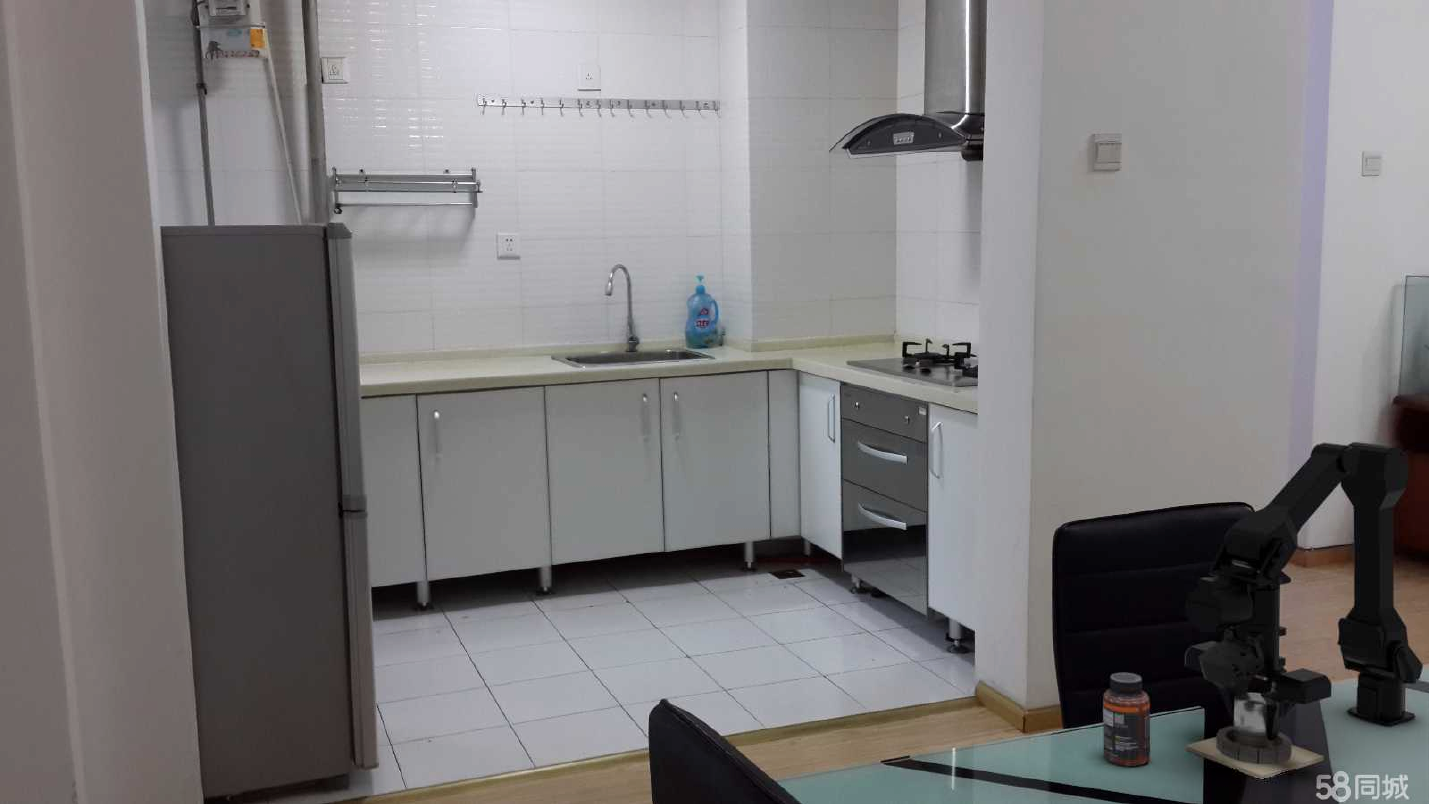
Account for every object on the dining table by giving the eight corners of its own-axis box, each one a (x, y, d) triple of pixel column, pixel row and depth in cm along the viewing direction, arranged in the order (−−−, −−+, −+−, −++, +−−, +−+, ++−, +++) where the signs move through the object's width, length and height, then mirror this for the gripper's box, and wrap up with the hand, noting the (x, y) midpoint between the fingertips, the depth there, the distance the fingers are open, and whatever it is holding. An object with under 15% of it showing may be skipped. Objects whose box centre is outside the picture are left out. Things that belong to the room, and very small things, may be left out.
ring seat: (1246, 732, 174) (1246, 715, 174) (1323, 760, 164) (1323, 743, 164) (1185, 749, 169) (1186, 732, 168) (1261, 780, 158) (1262, 762, 158)
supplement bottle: (1144, 750, 169) (1144, 669, 168) (1155, 768, 163) (1155, 684, 162) (1098, 750, 169) (1099, 669, 168) (1108, 767, 164) (1108, 684, 162)
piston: (1250, 732, 169) (1251, 690, 169) (1282, 744, 165) (1283, 700, 164) (1225, 740, 167) (1226, 697, 166) (1257, 752, 163) (1258, 708, 162)
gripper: (1156, 613, 169) (1156, 724, 170) (1276, 647, 152) (1274, 770, 154) (1213, 600, 174) (1212, 708, 176) (1335, 632, 158) (1332, 751, 159)
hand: (1254, 733), depth 166 cm, fingers closed on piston, 5 cm apart
